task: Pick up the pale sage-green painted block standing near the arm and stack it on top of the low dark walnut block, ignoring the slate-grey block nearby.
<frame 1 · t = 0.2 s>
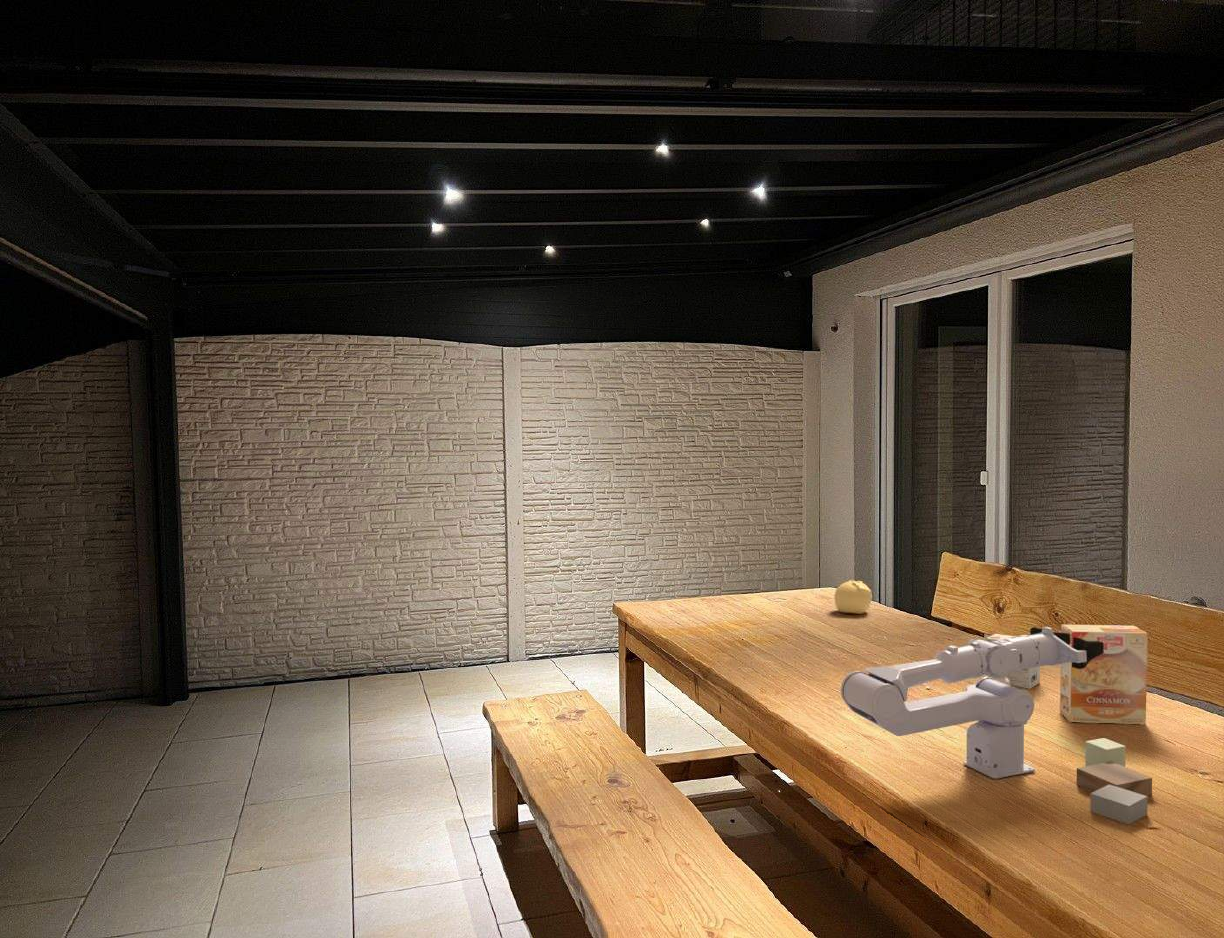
hand: (1085, 643, 171), 21 cm above the table, tool horizontal, fingers open, 7 cm apart
light bulb box: (1012, 683, 218), on the table
walnut block: (1113, 789, 155), on the table
coffeecake box: (1102, 719, 191), on the table
supplement bottle: (996, 713, 197), on the table
pale yellow round lump: (853, 613, 300), on the table
sage block: (1105, 770, 164), on the table
slate block: (1118, 812, 146), on the table
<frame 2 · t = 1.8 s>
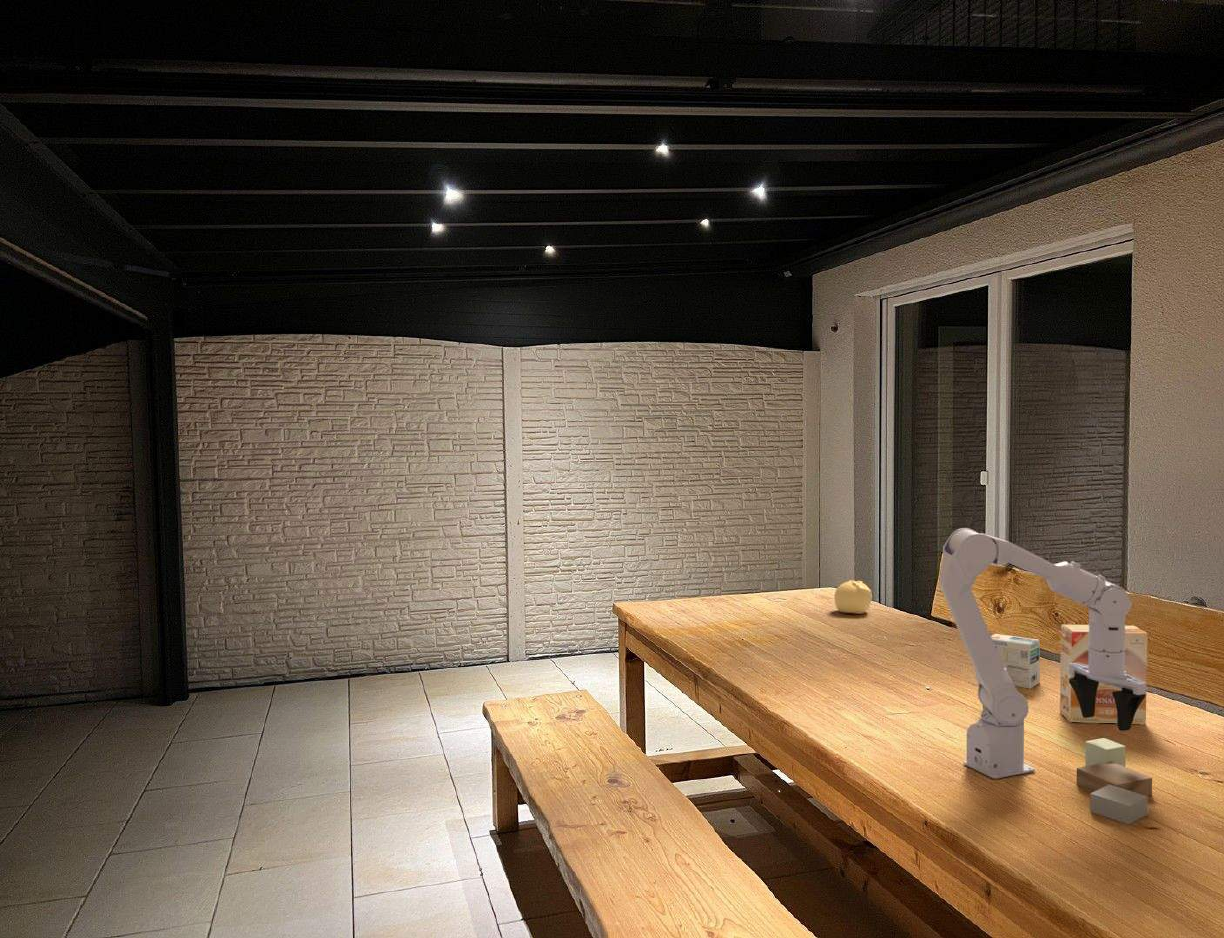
hand: (1105, 723, 163), 9 cm above the table, tool pointing down, fingers open, 7 cm apart
nothing on the table moved.
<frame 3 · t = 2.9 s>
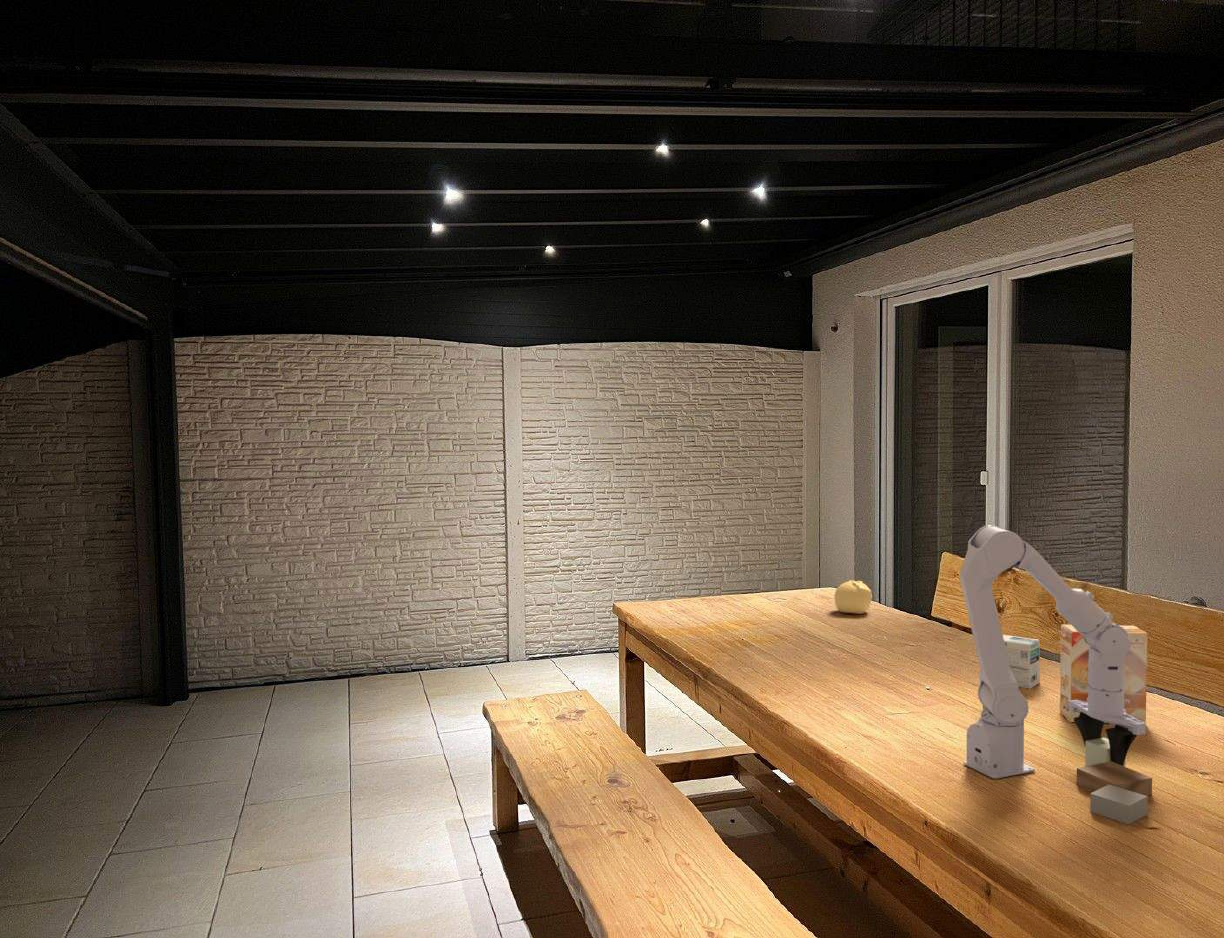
hand: (1105, 761, 164), 2 cm above the table, tool pointing down, fingers closed on sage block, 4 cm apart
sage block: (1105, 770, 164), on the table, touching gripper
everything else where it was.
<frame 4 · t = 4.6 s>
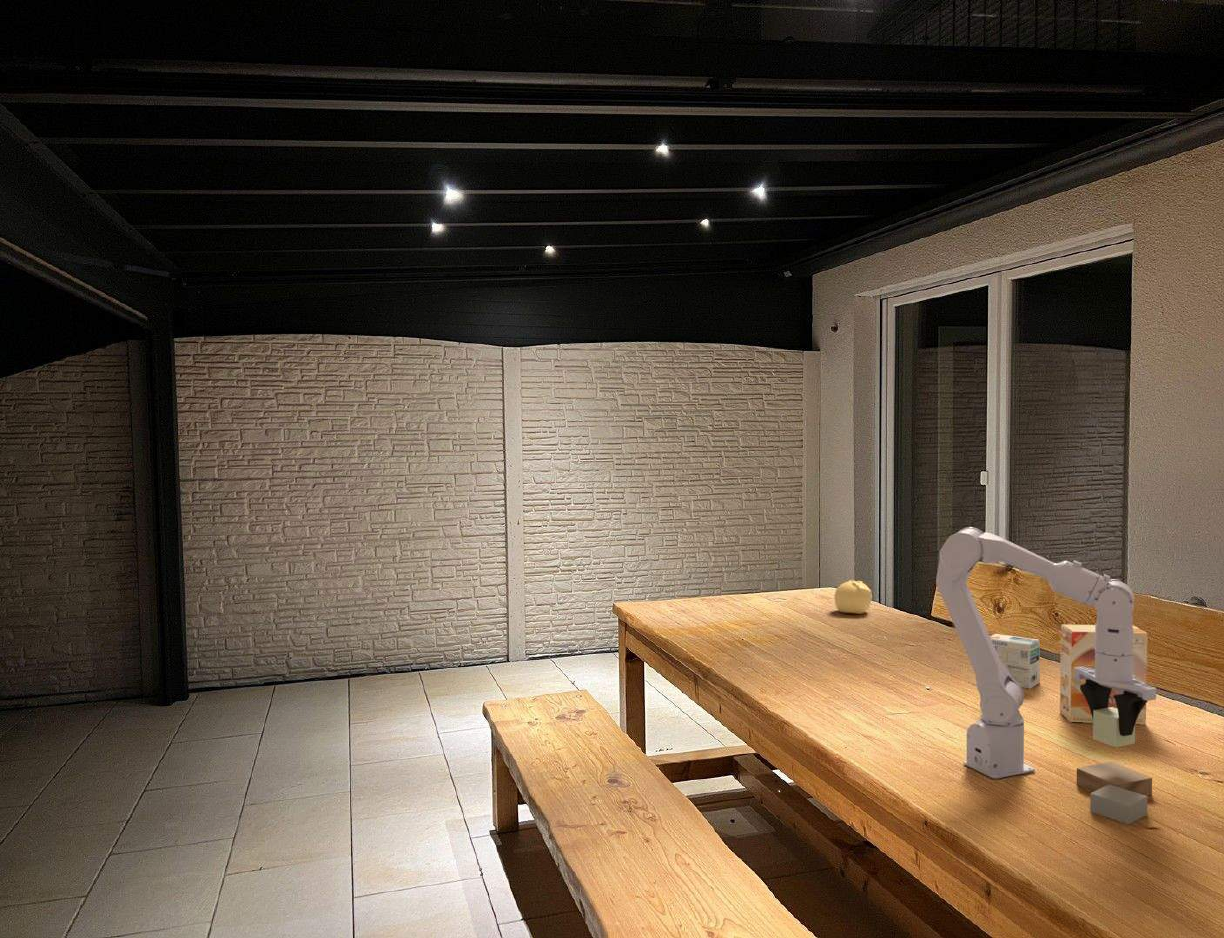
hand: (1113, 730, 156), 10 cm above the table, tool pointing down, fingers closed on sage block, 4 cm apart
sage block: (1113, 740, 156), point 8 cm above the table, touching gripper
everything else where it was.
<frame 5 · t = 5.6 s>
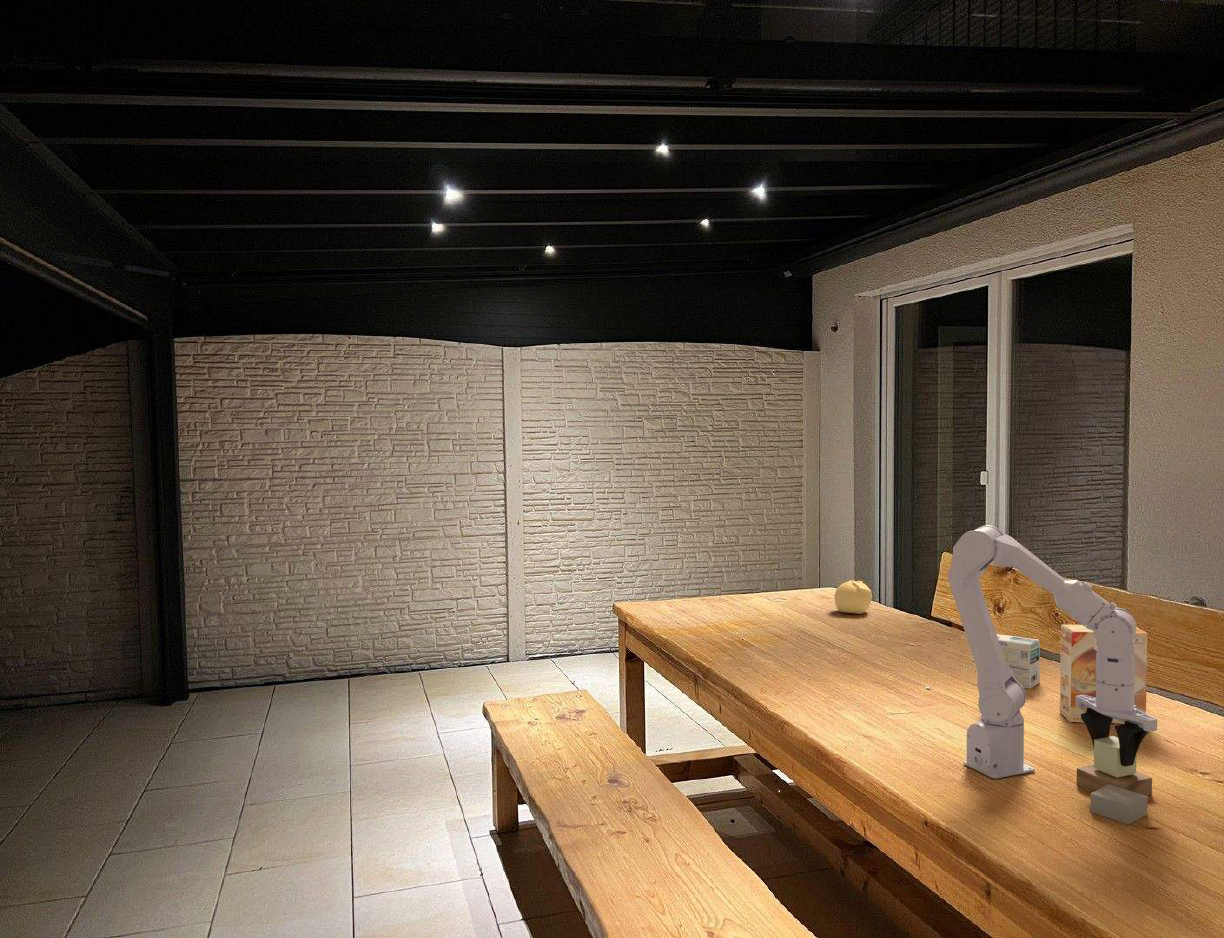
hand: (1114, 759, 155), 5 cm above the table, tool pointing down, fingers closed on sage block, 4 cm apart
sage block: (1114, 770, 155), point 3 cm above the table, touching gripper
everything else where it was.
when the fingers open (5 cm above the table, at t = 6.1 s): sage block stays where it is, resting on walnut block.
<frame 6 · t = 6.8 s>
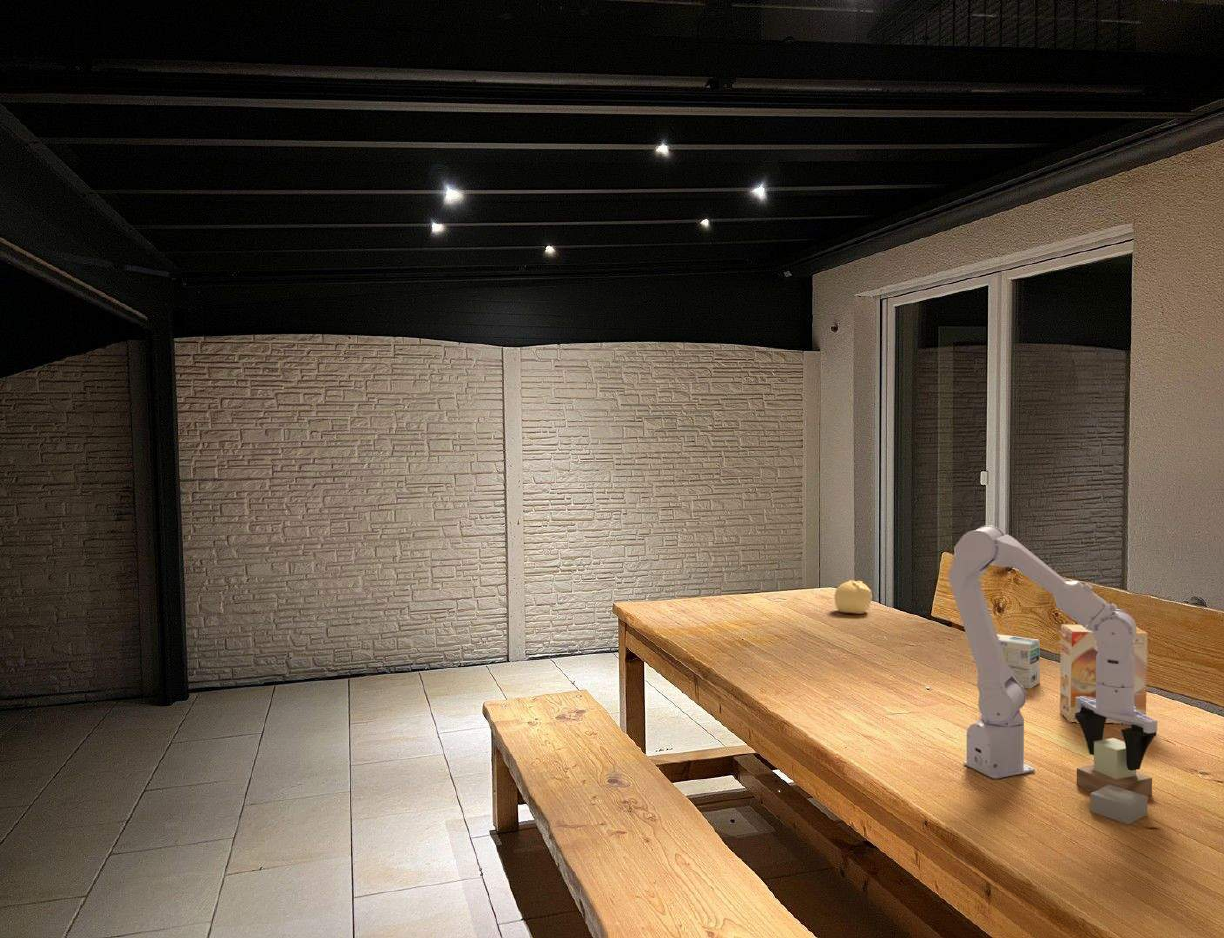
hand: (1114, 761, 155), 5 cm above the table, tool pointing down, fingers open, 7 cm apart
sage block: (1114, 772, 155), point 3 cm above the table, touching walnut block
everything else where it was.
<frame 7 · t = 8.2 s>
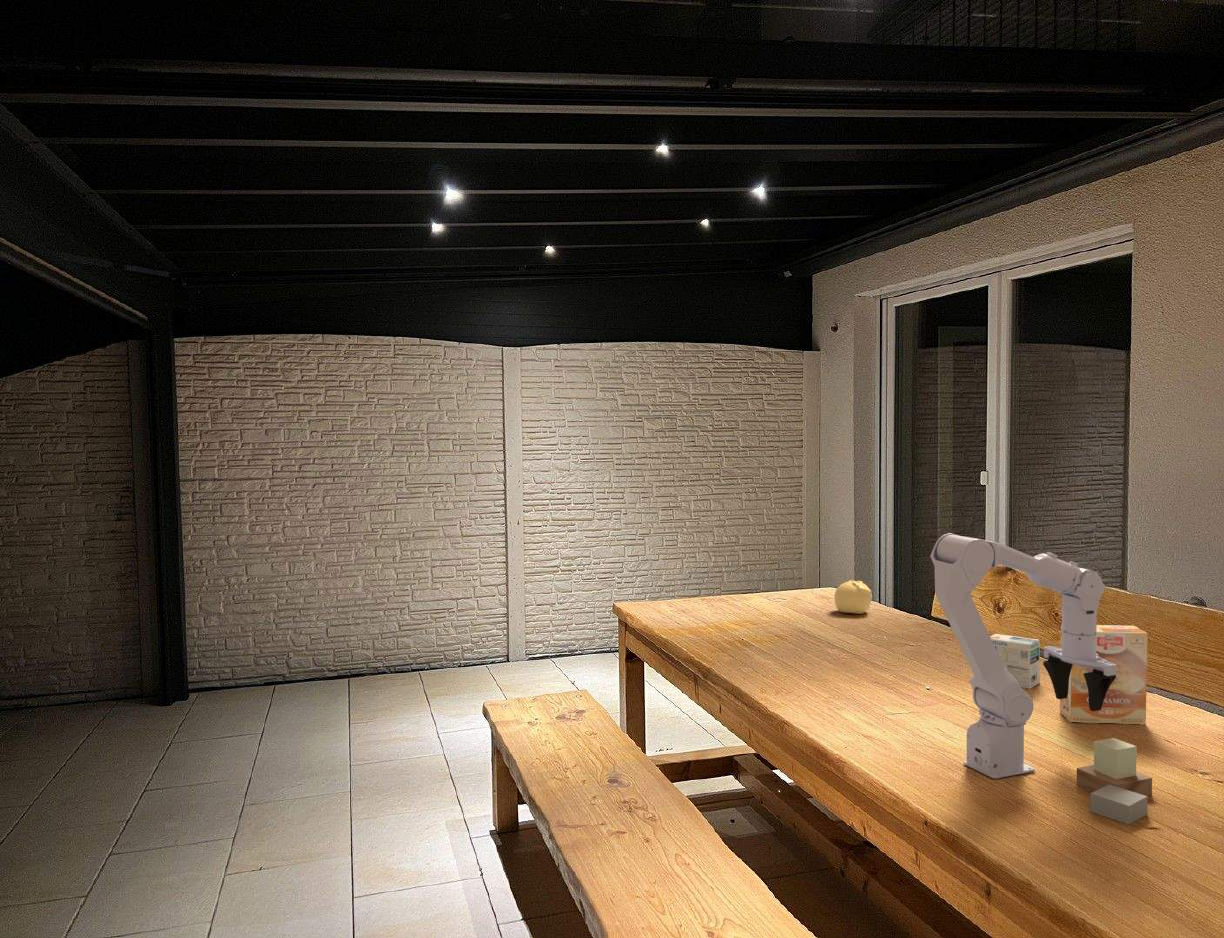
hand: (1078, 704, 169), 10 cm above the table, tool pointing down, fingers open, 7 cm apart
nothing on the table moved.
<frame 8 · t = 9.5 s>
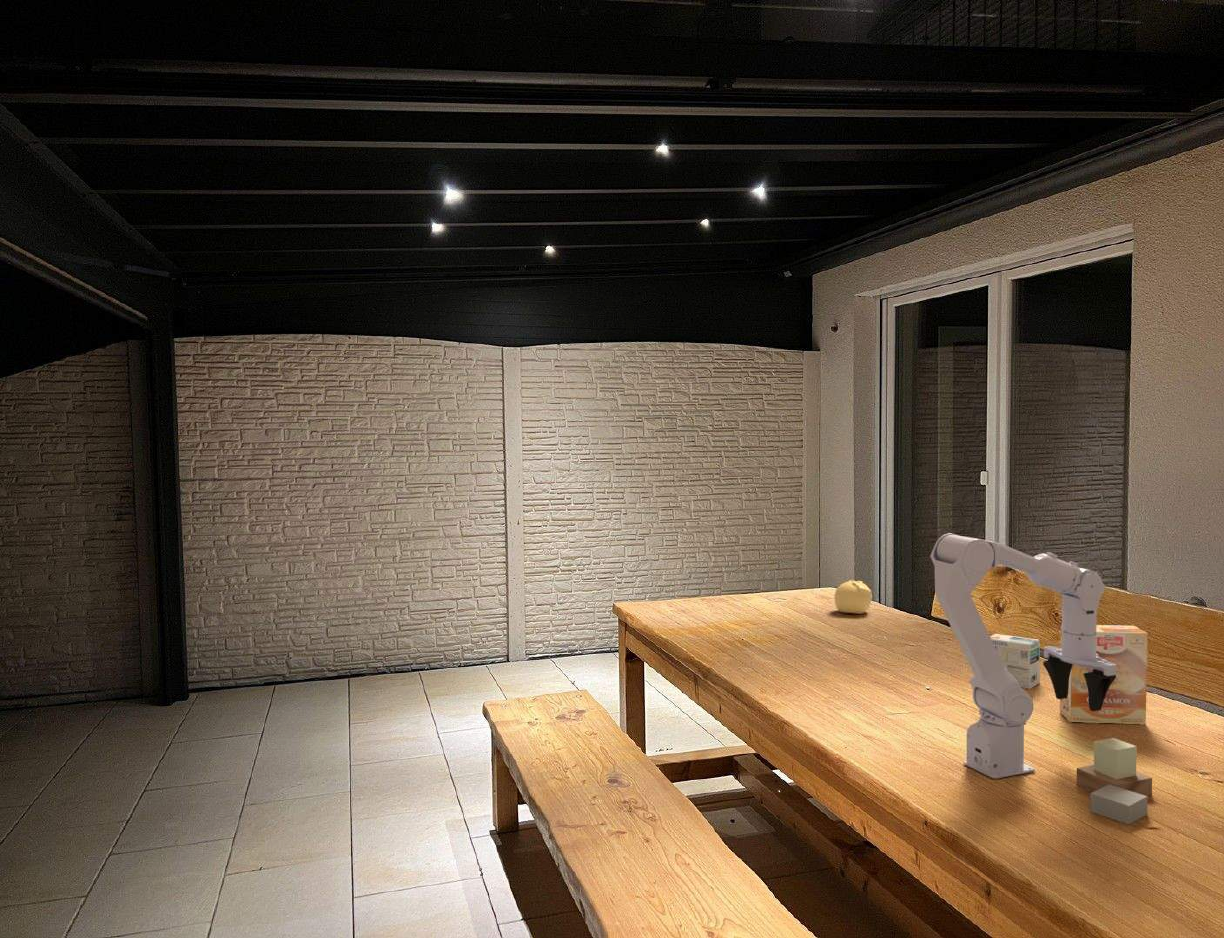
hand: (1078, 704, 169), 10 cm above the table, tool pointing down, fingers open, 7 cm apart
nothing on the table moved.
at the end: sage block 0.2 cm from the walnut block (horizontally); sage block point 3.0 cm above the table; sage block tilted 0° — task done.
